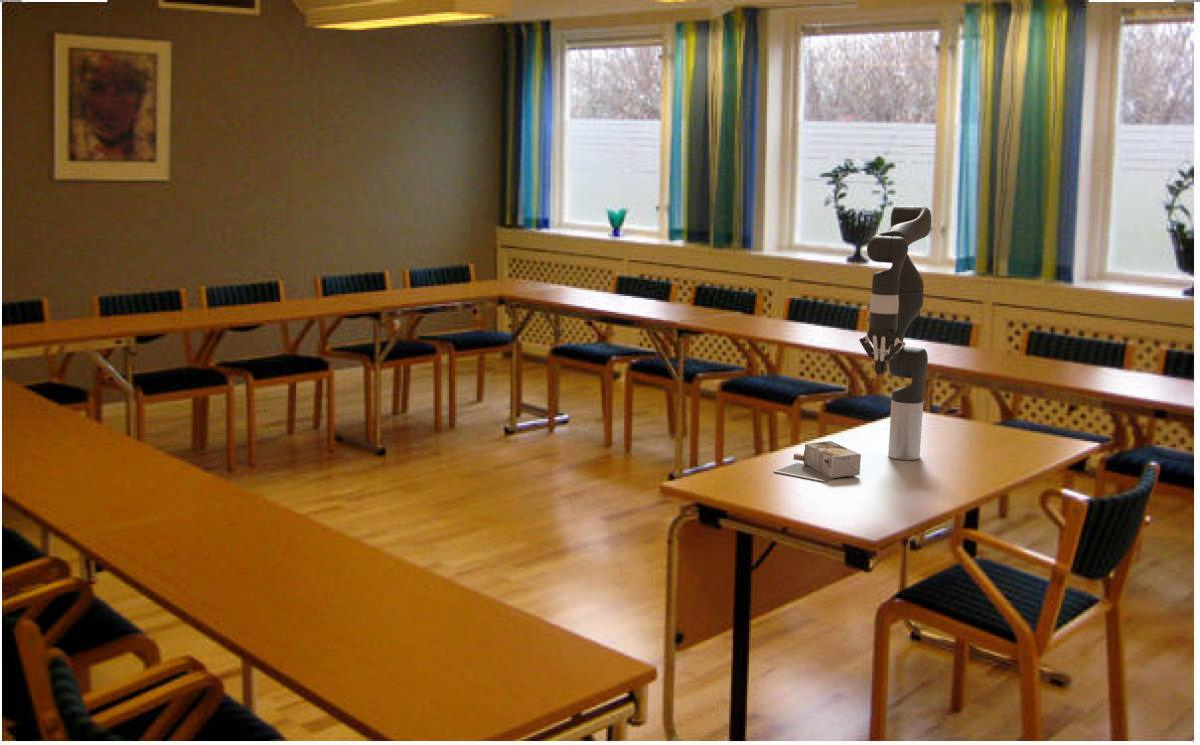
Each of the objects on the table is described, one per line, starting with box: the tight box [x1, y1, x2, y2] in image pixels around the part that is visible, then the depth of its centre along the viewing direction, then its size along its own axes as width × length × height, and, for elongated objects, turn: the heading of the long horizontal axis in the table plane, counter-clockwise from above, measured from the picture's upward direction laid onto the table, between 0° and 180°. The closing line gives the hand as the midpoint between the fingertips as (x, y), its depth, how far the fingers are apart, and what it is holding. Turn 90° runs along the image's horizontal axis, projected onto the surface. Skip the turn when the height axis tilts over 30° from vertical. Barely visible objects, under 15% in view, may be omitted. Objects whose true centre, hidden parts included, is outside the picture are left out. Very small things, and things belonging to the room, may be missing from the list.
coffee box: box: [803, 440, 862, 479], centre depth 385 cm, size 9×6×16 cm
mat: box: [773, 461, 835, 483], centre depth 384 cm, size 14×16×1 cm
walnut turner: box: [793, 452, 804, 461], centre depth 396 cm, size 18×6×1 cm, turn 52°
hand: (880, 374), depth 366 cm, fingers closed
